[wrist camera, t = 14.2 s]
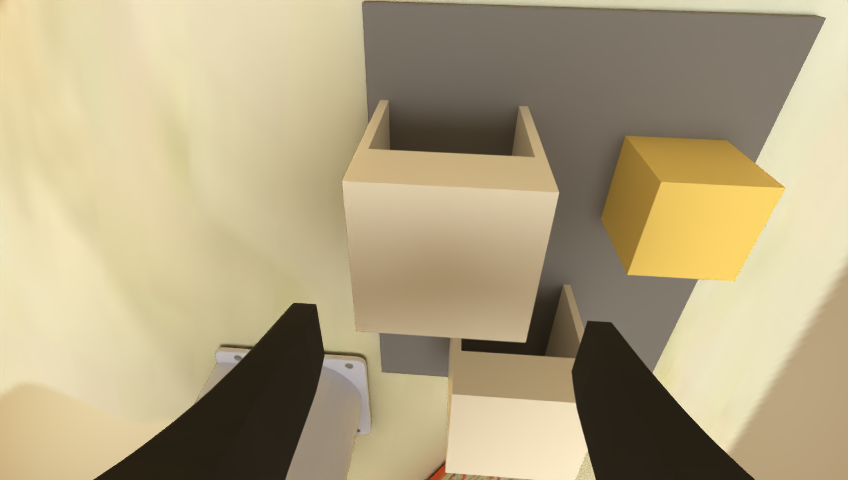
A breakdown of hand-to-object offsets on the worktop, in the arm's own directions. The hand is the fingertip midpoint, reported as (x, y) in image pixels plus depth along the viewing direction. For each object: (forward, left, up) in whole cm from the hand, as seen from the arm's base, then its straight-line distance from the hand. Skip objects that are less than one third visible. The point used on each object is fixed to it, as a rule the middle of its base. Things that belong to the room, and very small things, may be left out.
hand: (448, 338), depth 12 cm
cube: (+9, 0, -9) cm, 13 cm away
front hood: (0, 0, -9) cm, 9 cm away
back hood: (+3, -9, -9) cm, 13 cm away
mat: (+4, -3, -10) cm, 11 cm away
